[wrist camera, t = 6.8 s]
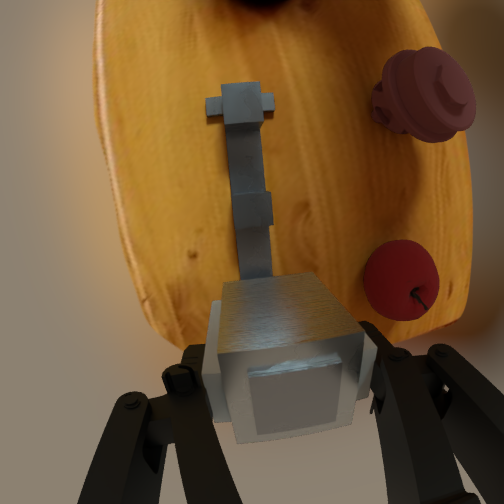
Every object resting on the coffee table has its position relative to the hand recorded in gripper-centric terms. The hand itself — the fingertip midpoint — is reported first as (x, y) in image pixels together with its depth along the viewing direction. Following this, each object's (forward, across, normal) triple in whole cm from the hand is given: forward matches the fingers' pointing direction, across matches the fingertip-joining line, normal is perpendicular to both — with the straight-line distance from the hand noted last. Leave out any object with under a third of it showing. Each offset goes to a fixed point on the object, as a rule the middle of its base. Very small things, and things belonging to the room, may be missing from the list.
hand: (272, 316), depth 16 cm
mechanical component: (+15, +18, +16) cm, 29 cm away
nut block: (0, 0, 0) cm, 0 cm away
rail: (+15, 0, +5) cm, 16 cm away
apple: (+15, +16, -4) cm, 23 cm away
